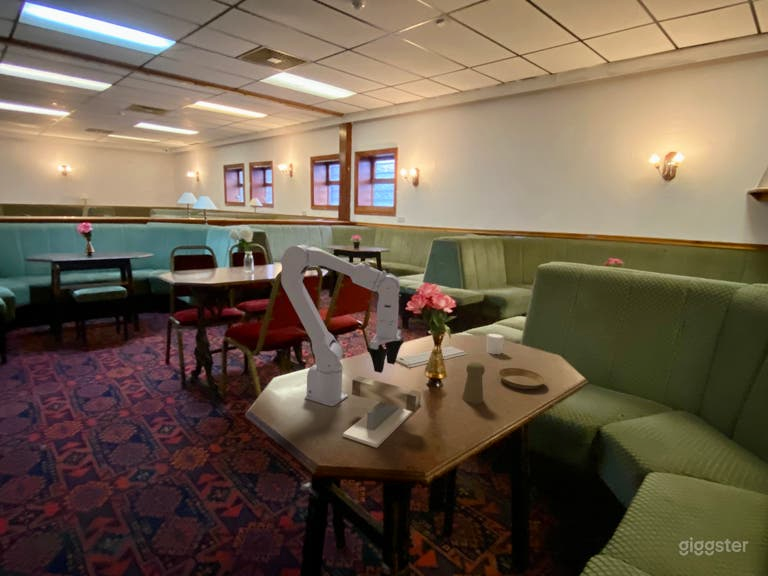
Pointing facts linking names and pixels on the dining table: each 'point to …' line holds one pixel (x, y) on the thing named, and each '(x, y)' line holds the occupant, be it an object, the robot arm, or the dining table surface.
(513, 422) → the dining table surface
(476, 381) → the pepper mill
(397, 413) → the ridge stand
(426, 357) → the baseboard
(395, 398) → the shiny metallic bar
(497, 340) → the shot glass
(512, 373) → the plant saucer
